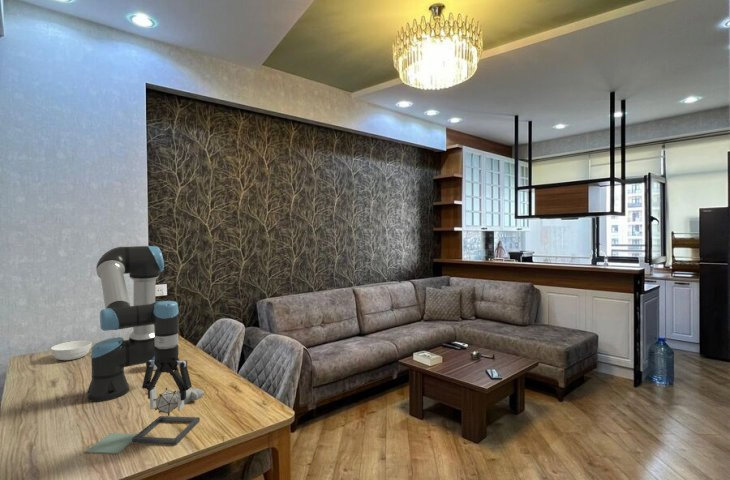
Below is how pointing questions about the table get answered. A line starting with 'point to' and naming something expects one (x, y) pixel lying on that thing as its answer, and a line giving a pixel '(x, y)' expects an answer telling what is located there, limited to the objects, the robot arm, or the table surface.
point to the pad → (112, 443)
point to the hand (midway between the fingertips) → (167, 408)
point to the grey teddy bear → (192, 394)
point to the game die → (166, 401)
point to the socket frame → (172, 441)
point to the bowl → (71, 350)
